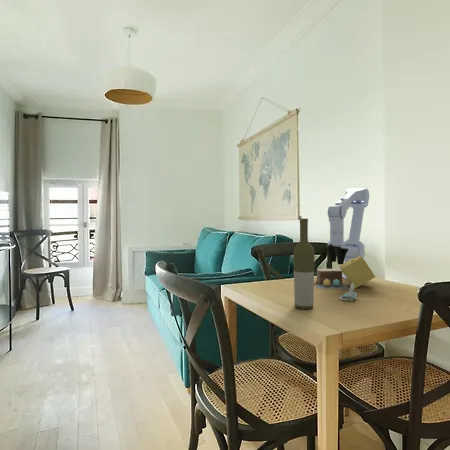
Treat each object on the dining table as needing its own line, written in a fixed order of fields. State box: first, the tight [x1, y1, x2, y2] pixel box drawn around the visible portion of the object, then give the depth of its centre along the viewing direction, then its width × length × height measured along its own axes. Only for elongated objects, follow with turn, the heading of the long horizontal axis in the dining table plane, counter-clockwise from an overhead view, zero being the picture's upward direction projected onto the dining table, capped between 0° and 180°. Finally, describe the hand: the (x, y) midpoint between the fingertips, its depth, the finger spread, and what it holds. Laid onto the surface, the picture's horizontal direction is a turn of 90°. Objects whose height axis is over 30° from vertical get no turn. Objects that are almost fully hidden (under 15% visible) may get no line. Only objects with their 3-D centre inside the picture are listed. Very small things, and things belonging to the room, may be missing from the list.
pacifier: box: [339, 283, 358, 302], centre depth 128 cm, size 7×6×6 cm
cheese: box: [339, 256, 376, 289], centre depth 148 cm, size 10×11×10 cm
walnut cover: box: [316, 268, 343, 284], centre depth 157 cm, size 6×10×6 cm, turn 85°
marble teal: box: [333, 279, 340, 286], centre depth 148 cm, size 3×3×3 cm
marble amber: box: [323, 279, 331, 286], centre depth 148 cm, size 3×3×3 cm
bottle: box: [292, 218, 315, 310], centre depth 117 cm, size 7×7×30 cm
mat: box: [314, 283, 350, 290], centre depth 148 cm, size 9×13×1 cm
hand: (336, 263), depth 154 cm, fingers open, 7 cm apart
